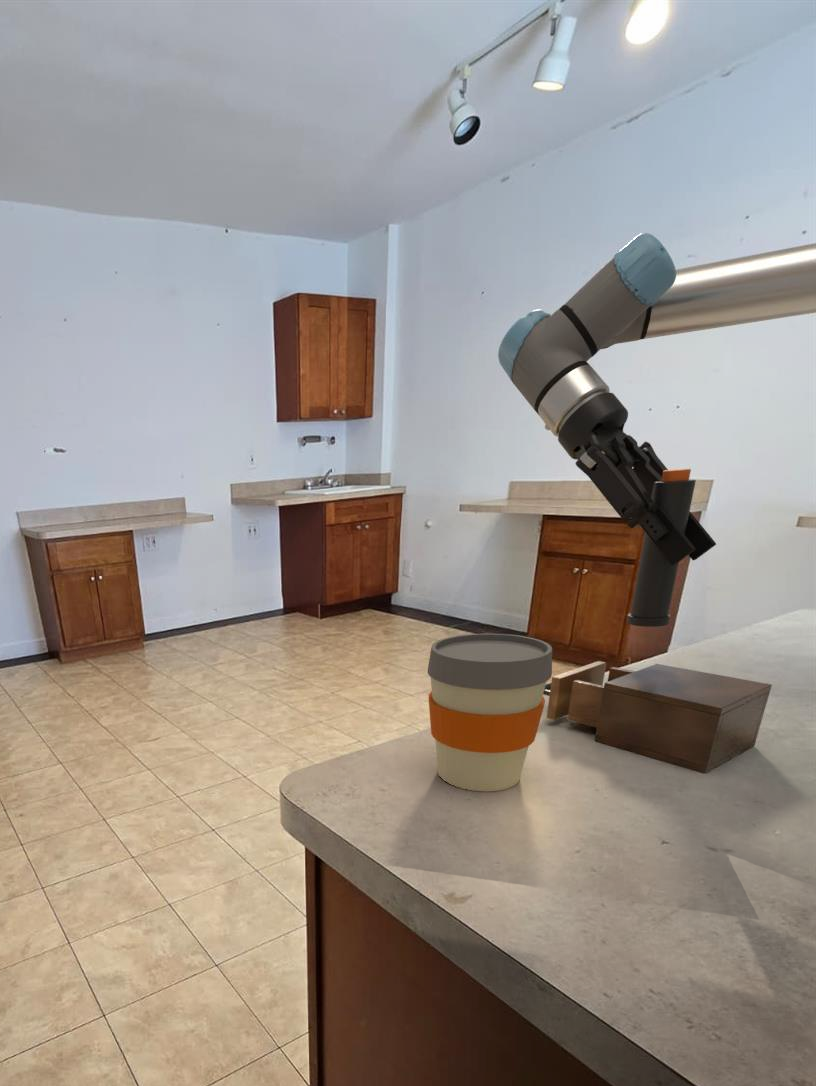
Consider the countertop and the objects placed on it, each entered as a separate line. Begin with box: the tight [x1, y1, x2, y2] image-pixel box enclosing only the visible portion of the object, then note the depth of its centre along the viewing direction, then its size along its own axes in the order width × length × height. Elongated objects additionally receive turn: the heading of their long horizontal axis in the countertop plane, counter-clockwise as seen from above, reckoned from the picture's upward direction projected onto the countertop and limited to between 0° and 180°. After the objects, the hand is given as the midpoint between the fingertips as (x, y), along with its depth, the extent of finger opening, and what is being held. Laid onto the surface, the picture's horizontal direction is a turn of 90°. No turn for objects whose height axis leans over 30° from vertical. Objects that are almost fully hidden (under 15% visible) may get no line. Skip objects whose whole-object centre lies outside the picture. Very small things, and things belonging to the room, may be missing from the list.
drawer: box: [543, 660, 637, 729], centre depth 84 cm, size 15×10×6 cm
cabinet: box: [594, 663, 773, 774], centre depth 76 cm, size 13×12×8 cm
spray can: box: [626, 468, 697, 628], centre depth 79 cm, size 5×5×18 cm
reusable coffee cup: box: [426, 633, 553, 792], centre depth 71 cm, size 13×13×15 cm
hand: (694, 554), depth 77 cm, fingers closed on spray can, 4 cm apart
